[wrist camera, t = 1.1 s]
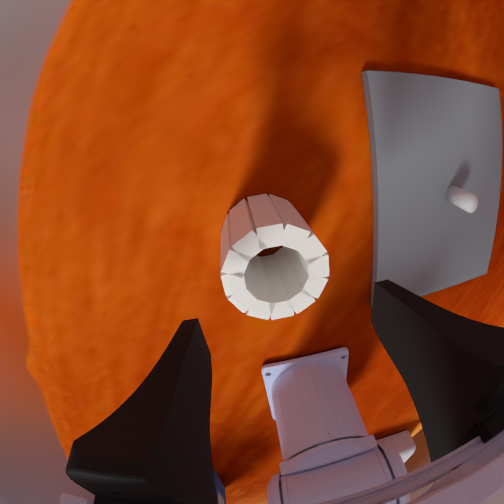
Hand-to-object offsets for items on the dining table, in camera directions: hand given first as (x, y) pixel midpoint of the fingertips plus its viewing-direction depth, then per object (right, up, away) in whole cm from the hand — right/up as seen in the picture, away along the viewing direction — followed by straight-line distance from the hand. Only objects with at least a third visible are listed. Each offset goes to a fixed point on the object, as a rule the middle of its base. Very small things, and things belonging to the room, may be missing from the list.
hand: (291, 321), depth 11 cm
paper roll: (-1, +4, +8) cm, 9 cm away
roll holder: (+14, +8, +8) cm, 18 cm away
